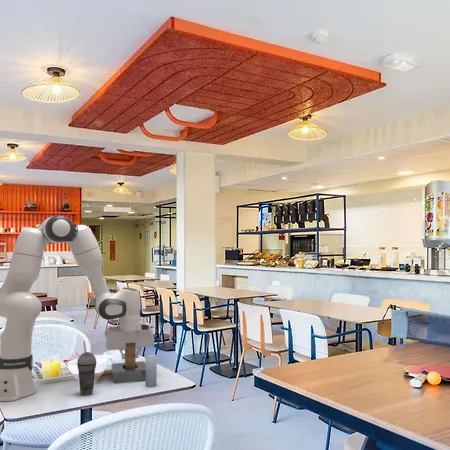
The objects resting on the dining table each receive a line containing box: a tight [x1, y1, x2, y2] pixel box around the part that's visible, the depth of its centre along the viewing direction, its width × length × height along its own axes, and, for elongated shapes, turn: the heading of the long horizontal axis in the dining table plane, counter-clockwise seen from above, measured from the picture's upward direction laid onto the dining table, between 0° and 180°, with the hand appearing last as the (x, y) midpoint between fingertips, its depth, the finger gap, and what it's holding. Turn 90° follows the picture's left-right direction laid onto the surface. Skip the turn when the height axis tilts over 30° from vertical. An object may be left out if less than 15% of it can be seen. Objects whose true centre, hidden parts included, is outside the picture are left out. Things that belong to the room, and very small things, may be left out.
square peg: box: [124, 343, 137, 369], centre depth 205 cm, size 4×4×12 cm
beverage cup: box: [76, 340, 97, 396], centre depth 184 cm, size 7×7×20 cm
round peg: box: [144, 353, 158, 388], centre depth 194 cm, size 4×4×12 cm
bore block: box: [111, 360, 146, 384], centre depth 205 cm, size 14×14×4 cm
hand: (130, 358), depth 205 cm, fingers closed on square peg, 4 cm apart
